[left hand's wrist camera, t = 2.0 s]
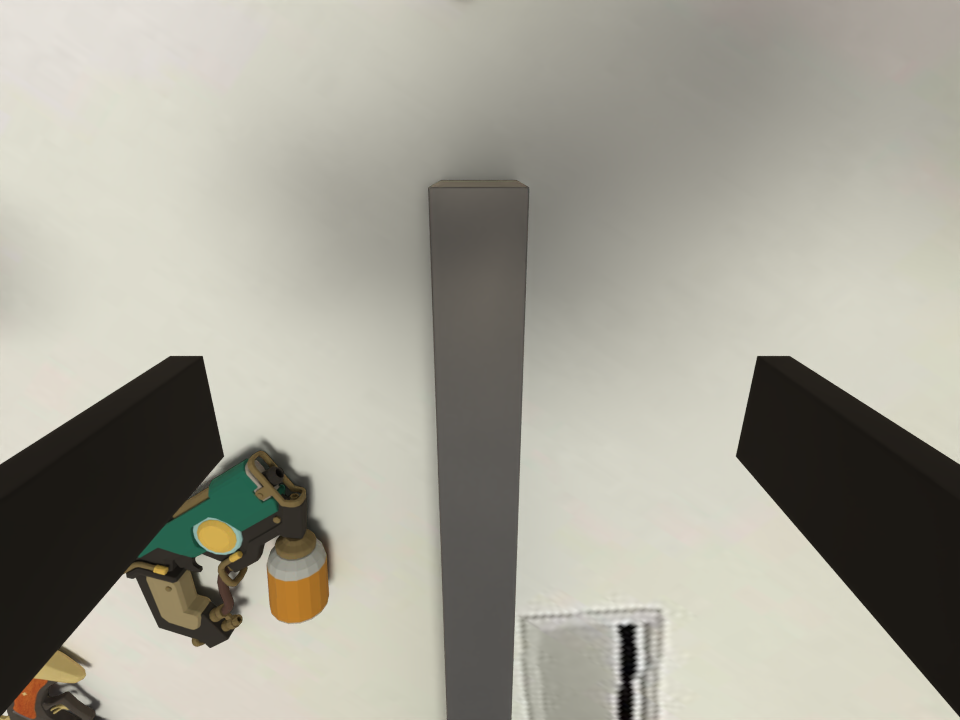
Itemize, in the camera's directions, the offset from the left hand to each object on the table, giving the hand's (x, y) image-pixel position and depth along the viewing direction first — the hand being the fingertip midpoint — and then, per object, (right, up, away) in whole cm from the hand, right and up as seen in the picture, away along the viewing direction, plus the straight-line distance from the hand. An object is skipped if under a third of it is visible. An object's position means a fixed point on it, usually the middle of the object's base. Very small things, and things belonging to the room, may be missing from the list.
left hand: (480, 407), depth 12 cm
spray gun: (-19, -13, +27) cm, 36 cm away
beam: (0, -19, +30) cm, 35 cm away
